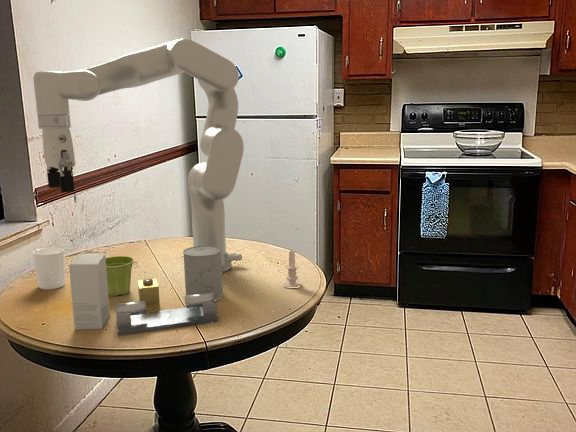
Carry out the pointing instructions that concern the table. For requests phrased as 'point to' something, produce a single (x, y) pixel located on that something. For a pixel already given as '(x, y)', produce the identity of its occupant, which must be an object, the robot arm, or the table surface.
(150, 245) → the table surface
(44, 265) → the white cup
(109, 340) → the table surface
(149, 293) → the coupler
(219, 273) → the grey can
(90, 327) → the skincare box
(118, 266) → the plant pot
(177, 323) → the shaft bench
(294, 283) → the candle
